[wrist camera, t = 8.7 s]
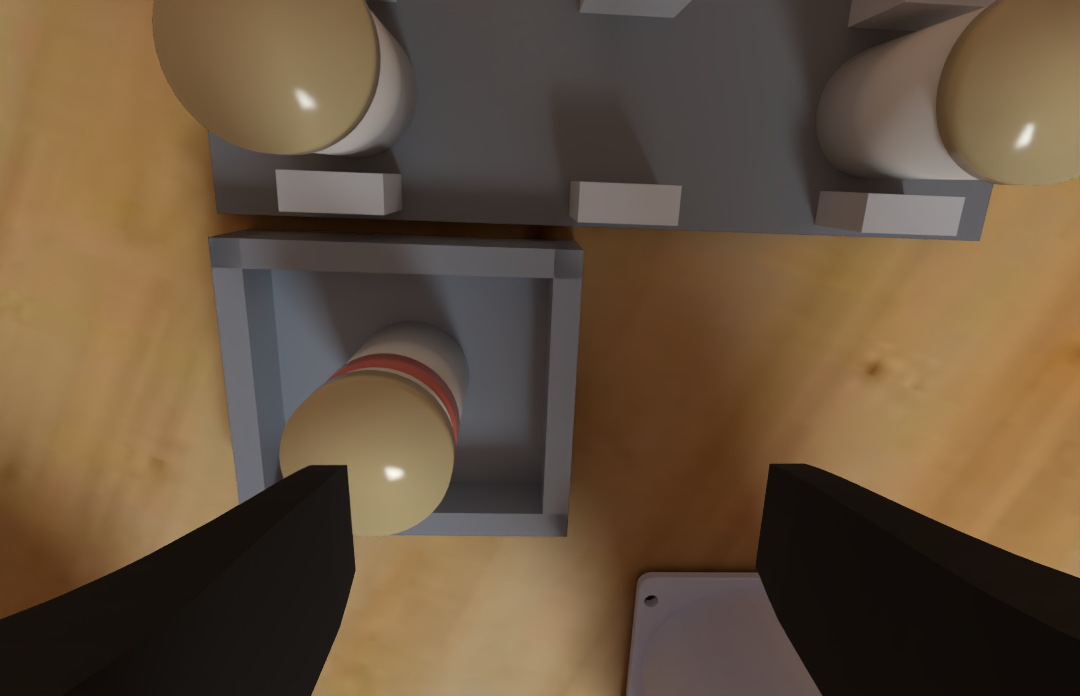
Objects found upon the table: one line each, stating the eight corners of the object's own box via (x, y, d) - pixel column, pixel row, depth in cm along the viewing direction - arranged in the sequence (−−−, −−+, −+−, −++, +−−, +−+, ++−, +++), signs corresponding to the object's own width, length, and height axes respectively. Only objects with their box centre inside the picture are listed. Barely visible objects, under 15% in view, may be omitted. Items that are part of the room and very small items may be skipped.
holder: (960, 238, 19) (1050, 251, 16) (230, 212, 18) (168, 219, 15) (1018, -6, 17) (1132, -47, 14) (201, -55, 16) (123, -113, 13)
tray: (560, 495, 21) (566, 536, 19) (274, 492, 20) (242, 533, 18) (574, 240, 18) (584, 250, 16) (248, 229, 18) (207, 237, 16)
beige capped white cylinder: (925, 185, 18) (1124, 189, 12) (802, 179, 17) (944, 181, 12) (955, 45, 17) (1188, -24, 11) (824, 38, 16) (992, -36, 11)
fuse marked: (469, 433, 19) (449, 540, 14) (353, 426, 19) (282, 532, 14) (475, 322, 18) (456, 387, 13) (352, 313, 18) (275, 375, 12)
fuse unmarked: (422, 164, 17) (375, 158, 11) (286, 158, 17) (168, 149, 11) (419, 16, 16) (366, -75, 10) (275, 8, 16) (137, -90, 10)
